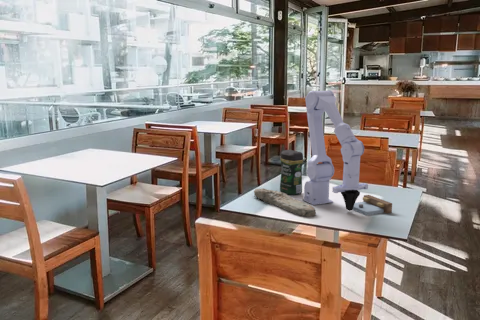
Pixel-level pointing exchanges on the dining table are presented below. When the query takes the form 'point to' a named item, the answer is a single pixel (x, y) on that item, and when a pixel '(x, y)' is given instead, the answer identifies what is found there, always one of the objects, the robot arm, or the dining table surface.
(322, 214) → the dining table surface
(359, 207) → the door panel
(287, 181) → the coffee jar
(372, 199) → the brown long block
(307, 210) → the long grey stone
